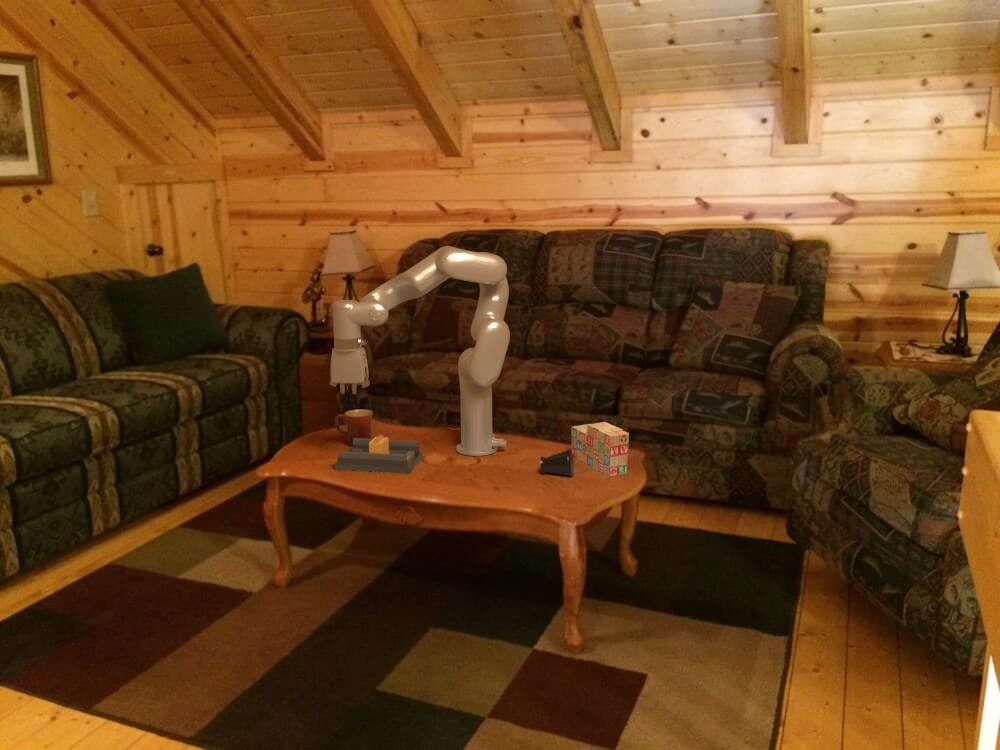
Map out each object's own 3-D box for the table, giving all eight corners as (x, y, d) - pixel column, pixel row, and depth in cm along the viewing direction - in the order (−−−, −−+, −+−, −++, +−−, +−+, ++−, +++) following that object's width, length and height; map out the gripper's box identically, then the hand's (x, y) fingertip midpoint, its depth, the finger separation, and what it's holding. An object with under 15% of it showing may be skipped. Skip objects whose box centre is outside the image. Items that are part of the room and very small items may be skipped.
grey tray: (419, 451, 253) (419, 440, 252) (405, 467, 239) (405, 456, 238) (355, 448, 256) (354, 437, 255) (337, 463, 242) (337, 453, 241)
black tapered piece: (571, 479, 233) (541, 481, 235) (581, 466, 251) (552, 468, 253) (568, 451, 233) (538, 454, 235) (577, 441, 250) (549, 443, 252)
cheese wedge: (389, 453, 250) (388, 434, 249) (382, 460, 244) (382, 440, 243) (376, 453, 250) (375, 434, 249) (369, 459, 245) (368, 440, 243)
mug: (376, 440, 270) (375, 409, 268) (371, 448, 262) (370, 416, 260) (339, 440, 271) (337, 409, 269) (332, 448, 262) (331, 416, 260)
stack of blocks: (570, 456, 254) (571, 416, 251) (588, 453, 257) (589, 413, 254) (609, 478, 235) (610, 435, 232) (628, 474, 238) (629, 432, 235)
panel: (422, 458, 253) (422, 448, 252) (409, 473, 239) (409, 463, 239) (351, 454, 256) (351, 445, 256) (335, 469, 243) (334, 459, 242)
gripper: (378, 342, 244) (380, 404, 248) (326, 340, 246) (329, 402, 250) (369, 347, 236) (372, 410, 240) (316, 345, 239) (320, 408, 243)
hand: (350, 406), depth 245 cm, fingers closed
